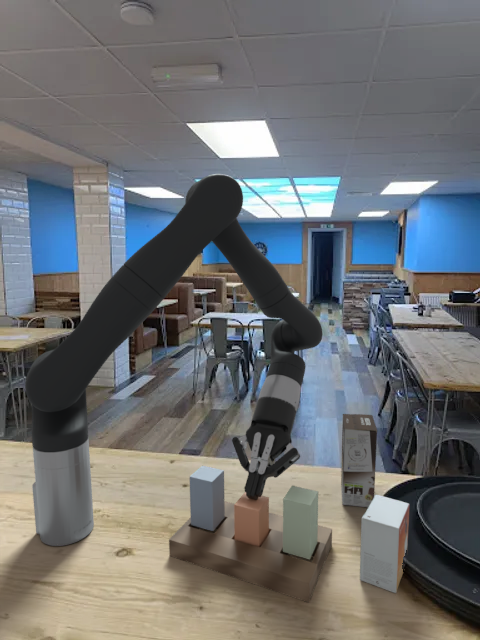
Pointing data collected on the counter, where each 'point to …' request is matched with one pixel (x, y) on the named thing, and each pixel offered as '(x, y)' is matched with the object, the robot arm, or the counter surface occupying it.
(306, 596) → the walnut board
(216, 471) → the slate block
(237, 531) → the terracotta block
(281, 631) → the counter surface
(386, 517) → the small box
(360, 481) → the coffee box
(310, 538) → the sage block
